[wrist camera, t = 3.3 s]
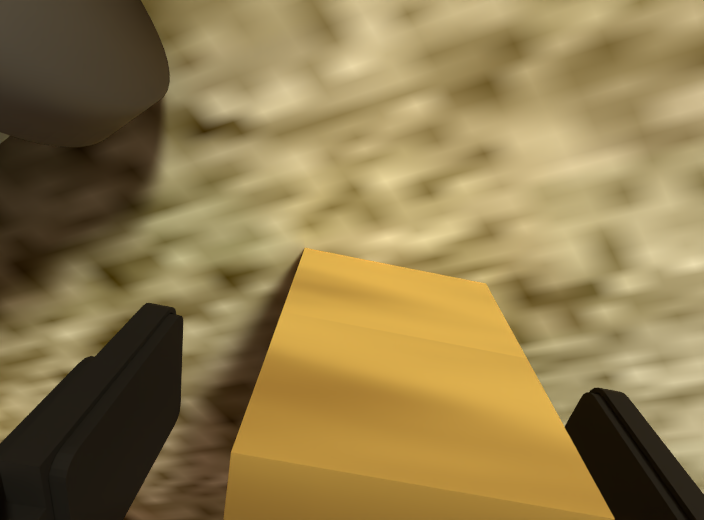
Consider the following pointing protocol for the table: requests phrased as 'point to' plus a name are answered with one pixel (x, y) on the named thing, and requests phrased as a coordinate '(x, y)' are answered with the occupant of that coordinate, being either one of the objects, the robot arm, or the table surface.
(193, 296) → the table surface
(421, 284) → the orange block
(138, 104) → the trolley
